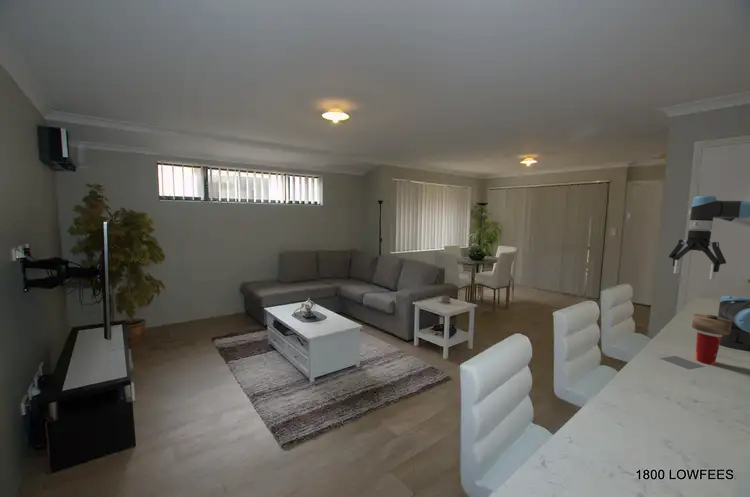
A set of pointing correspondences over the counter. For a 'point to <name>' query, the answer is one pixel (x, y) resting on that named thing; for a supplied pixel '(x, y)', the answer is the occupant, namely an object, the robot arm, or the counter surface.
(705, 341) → the paper cup
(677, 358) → the mat
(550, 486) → the counter surface
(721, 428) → the counter surface
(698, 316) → the lid
